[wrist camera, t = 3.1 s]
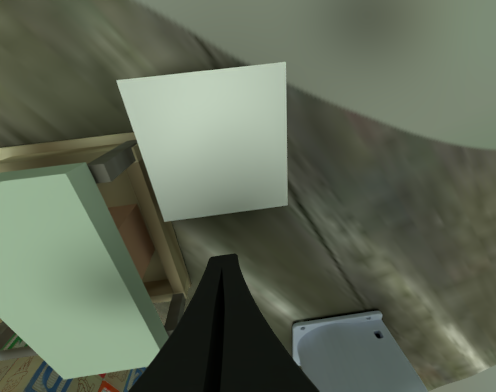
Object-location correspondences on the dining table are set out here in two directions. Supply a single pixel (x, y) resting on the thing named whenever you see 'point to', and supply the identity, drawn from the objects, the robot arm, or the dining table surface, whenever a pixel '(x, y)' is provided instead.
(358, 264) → the dining table surface
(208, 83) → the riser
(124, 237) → the block
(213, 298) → the robot arm
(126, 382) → the stack of blocks
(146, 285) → the grey frame
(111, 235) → the lid
